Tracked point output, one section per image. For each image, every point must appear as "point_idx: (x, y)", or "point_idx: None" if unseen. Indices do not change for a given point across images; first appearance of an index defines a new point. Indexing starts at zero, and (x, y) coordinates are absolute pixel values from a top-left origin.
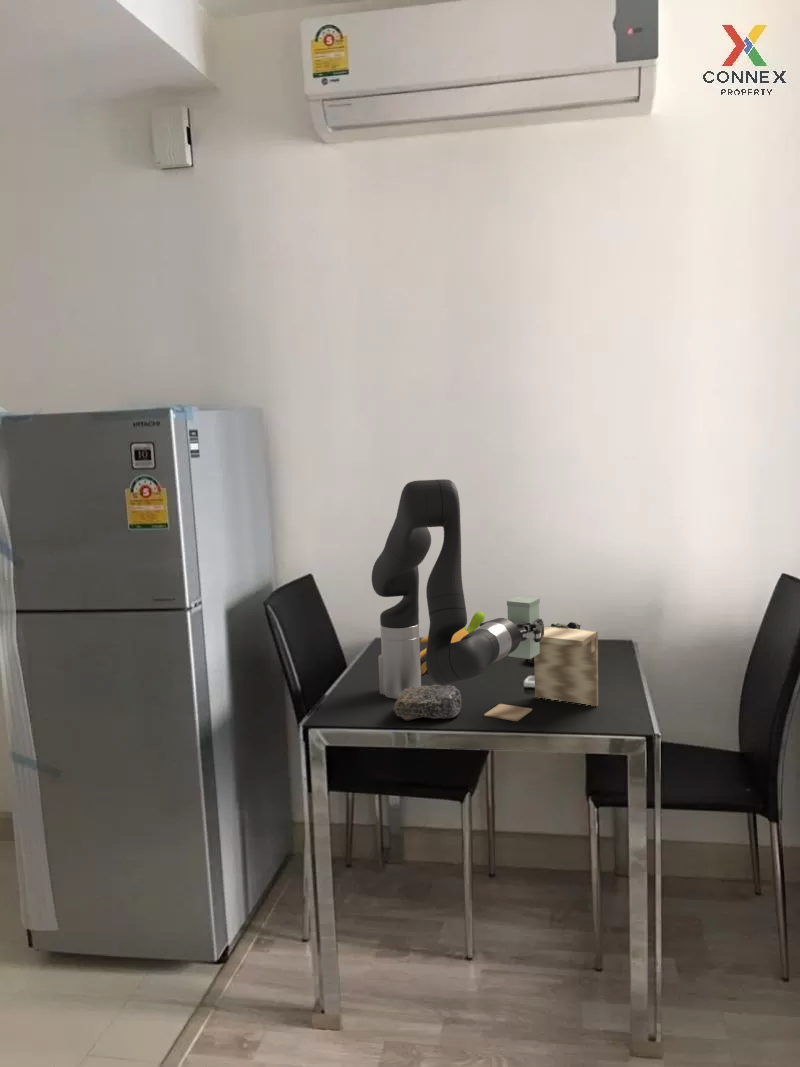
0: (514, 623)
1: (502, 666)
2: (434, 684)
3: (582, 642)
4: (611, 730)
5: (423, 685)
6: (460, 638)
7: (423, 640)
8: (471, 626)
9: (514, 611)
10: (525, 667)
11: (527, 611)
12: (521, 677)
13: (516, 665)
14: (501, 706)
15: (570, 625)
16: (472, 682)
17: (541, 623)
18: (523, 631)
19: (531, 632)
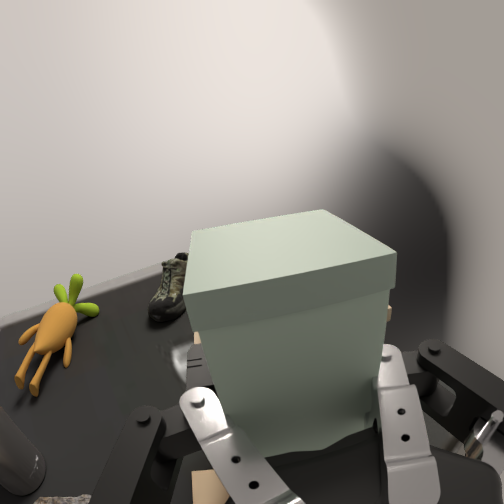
0: (401, 488)
1: (127, 341)
2: (56, 500)
3: (390, 311)
4: (443, 432)
5: (40, 499)
6: (63, 320)
7: (21, 341)
8: (72, 295)
9: (267, 351)
10: (156, 332)
11: (372, 316)
12: (166, 359)
13: (143, 332)
14: (202, 481)
15: (179, 257)
16: (105, 401)
17: (434, 344)
18: (501, 491)
19: (492, 445)
